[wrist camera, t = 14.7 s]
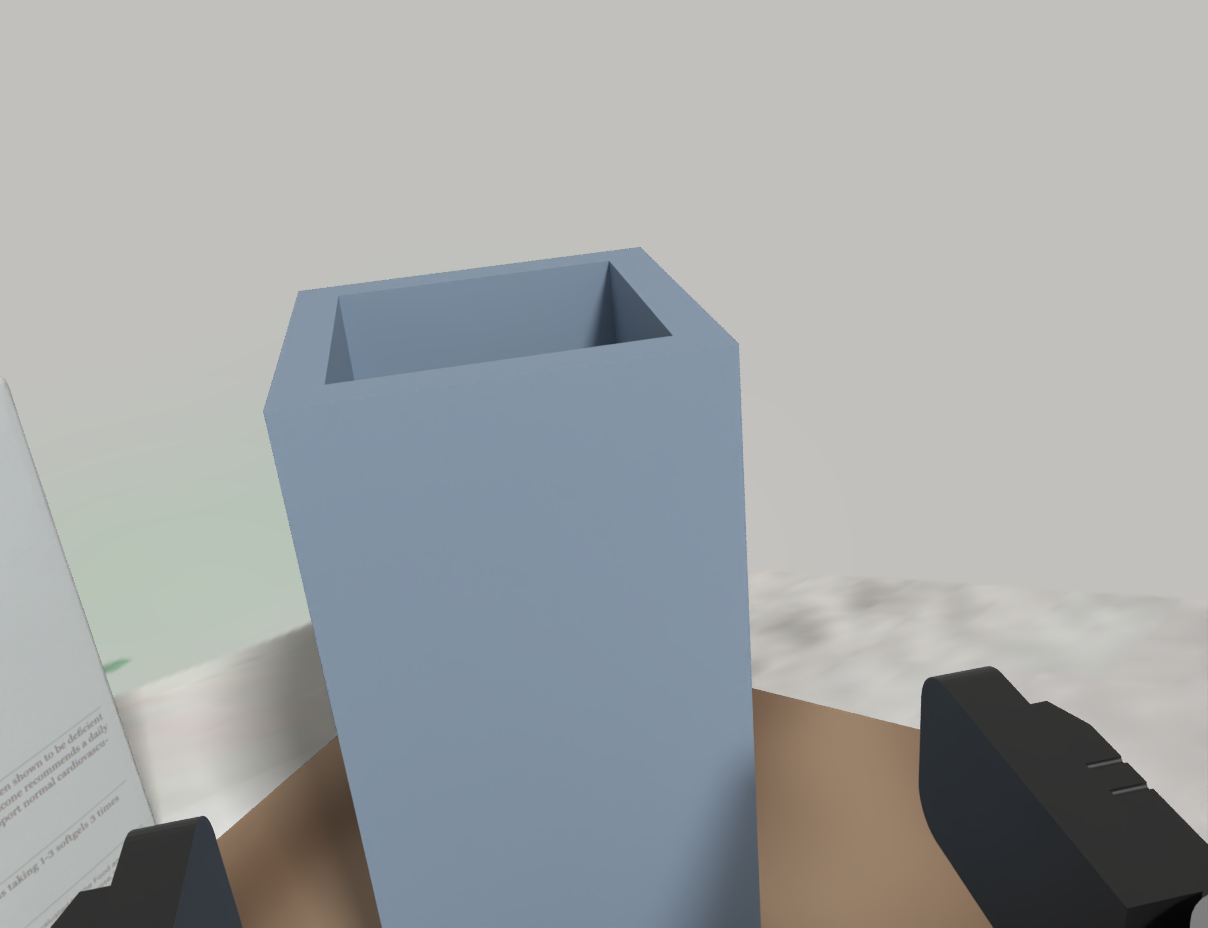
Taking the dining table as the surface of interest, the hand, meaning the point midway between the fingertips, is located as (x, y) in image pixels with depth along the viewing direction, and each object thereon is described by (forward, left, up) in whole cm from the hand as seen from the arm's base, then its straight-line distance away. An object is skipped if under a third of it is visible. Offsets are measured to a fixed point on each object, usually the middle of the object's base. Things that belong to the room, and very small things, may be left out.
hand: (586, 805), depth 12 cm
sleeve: (-4, +5, -8) cm, 10 cm away
